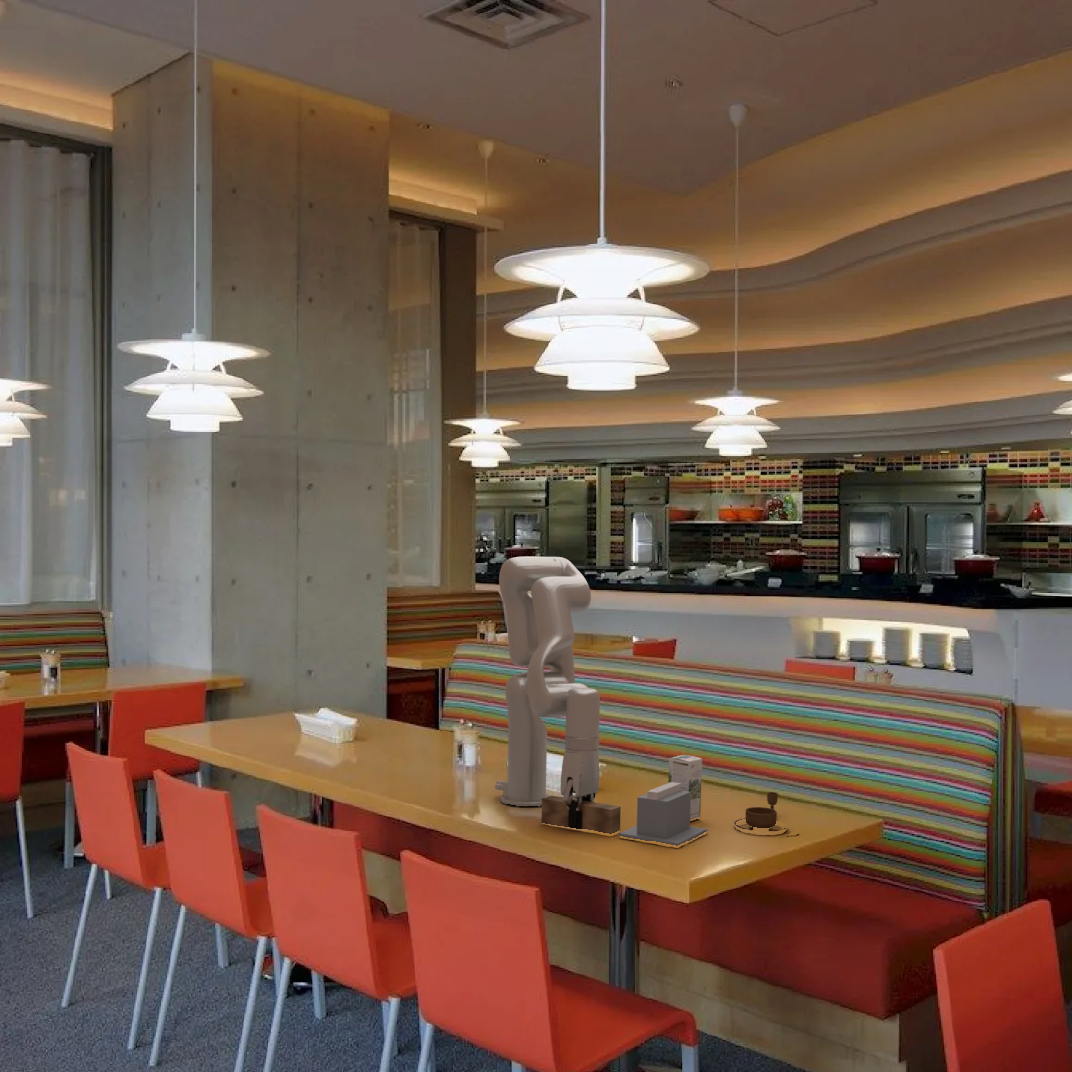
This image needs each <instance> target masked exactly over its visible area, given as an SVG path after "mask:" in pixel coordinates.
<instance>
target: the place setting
mask: <svg viewBox="0 0 1072 1072" xmlns="http://www.w3.org/2000/svg"><path fill="white" fill-rule="evenodd" d="M778 797H779V795H778V792H775V791H769V792H768V791H767V793H766V801H767V804H768V806H769V805H770V808H769V807H764V806H762V807H761V806H755V807H754V806H751V807H748V808H745V818H744V819H746V823H747V824H746V825H748V826H749V827H750V826H752V827H757V828H770V827H772V828H773V826H774V827H776V826H775V824H776V820H777V818H778V817H777V816H778V814H777V813H778V811H777V810H776V809H775V808H774V807H775V806H776V805H777V803H778V799H779V798H778ZM742 819H743V818H739V819H736V820H735V821H734V822H733V824H735V825H736V822H737V821H739V820H742ZM777 821H778V820H777ZM736 826H737V827H739V828H742V829H748V828H745V827H742V826H738V825H736ZM752 827H751V828H752ZM770 829H771V828H770ZM784 829H786V828H784Z"/></svg>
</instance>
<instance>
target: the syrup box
mask: <svg viewBox="0 0 1072 1072" xmlns="http://www.w3.org/2000/svg"><path fill="white" fill-rule="evenodd" d="M702 773H703V758H701V757H697V756H694V755H687V754H682V755H677V756H673V757H669V758H668V781H667V783H670V782H675V783H681V791H688V792H691V795H690V820H691V819H694V818H697V817H700V818H701V807H702V806H701V804H702V803H701V802H702V777H703V776H702Z"/></svg>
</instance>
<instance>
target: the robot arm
mask: <svg viewBox="0 0 1072 1072" xmlns="http://www.w3.org/2000/svg"><path fill="white" fill-rule="evenodd" d="M500 567H501V568H500V570H499V577H498V578H499V579H498V580H499V581H498V583H499V591H500V594H501V597H502V601H503V603H504V607H505V611H506V622H507V623H506V624H507V625H506V626H507V628H506V629H507V638H508V639H507V640H508V641H507V642H508V643H507V644H508V653H509V659H510V661H511V663H512V664H513V665H514V666H517V667H525V668H526V667H527V672H520V673H515V674H513V675H512V676H510V677H509V678H508V679H507V681H506V683H505V688H504V689H505V691H504V693H505V694H504V695H505V699H506V700H505V702H506V707H507V722H508V734H507V735H508V736H507V737H508V738H507V741H508V742H507V743H508V744H507V745H508V746H507V780H506V781H504V780H497V781H496V784H495V786H494V789H495V790H499V791H502V792H503V793H502V795H500V802H501V803H503V804H504V805H507V804H511V805H516V806H515V807H519V806H538V807H542V806H541V805H542V798H545V797H548V796H551V795H550V794H547V763H548V762H547V760H548V759H547V755H548V753H547V752H548V730H547V726H546V724H545V722H544V721H543V719H542V718H558V717H559V718H560V717H562V718H563V717H565V739H564V740H565V741H564V744H565V745H564V747H565V749H564V750H565V751H564V753H563V759H562V762H561V763H562V764H561V772H560V773H561V775H560V790H559V791H560V794H561V795H562V797H563V801H564V802H565V803H566V804H567V809H568V810H569V816H568V826H569V827H570V828H576V829H581V828H582V811H580V809H581V800H583V801H589V802H595V798H596V795H597V793H598V791H600V789H599V788H600V758H599V751H600V749H599V748H600V713H601V712H600V710H601V709H600V705H601V703H600V702H601V697H600V693H599V691H598V690H597V689H595V688H591V687H590V688H589V687H588V686H587V685H585V684H583V683H578V682H576V676H575V675H576V674H575V663H574V660H575V659H574V650H573V648H574V647H573V643H574V641H575V640H576V635H575V629H574V624H573V620H572V619H573V618H572V613H571V612H573V613H575V612H584V611H586V610H587V609H588V608H589V606H590V604H591V601H592V594H591V588H590V586H589V583H588V582H587V580H586V578H585V577H584V575H583V574H582V573H581V572H580V570H578V569H577V568H576V566H575V565H574V564H573V563H572V562H571V561H570V560H569V559H567V558H564V557H563V556H562V557H560V556H526V555H525V556H516V557H511V558H508V559H507V560H505V561H504V562H503V563H502V565H501V566H500ZM529 592H530V593H529ZM544 667H549V670H550V671H544ZM573 799H577V803H576V802H575V800H573ZM511 805H510V806H511Z"/></svg>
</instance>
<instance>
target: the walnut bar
mask: <svg viewBox="0 0 1072 1072" xmlns="http://www.w3.org/2000/svg"><path fill="white" fill-rule="evenodd" d="M573 800H575V802H576V803H577V799H573ZM621 809H622V807H621V806H620V805H619V806H618V805H613V804H608V803H601V802H595V801H594V802H589V801H583V800H581V809H580V811H582V828H581V829H588V830H594V831H598V832H603V833H609V834H612V833H615V832H617V831H619V830H620V831H621ZM568 816H569V810H568V809H567V804H566V803H565V802H564V801H563V796H557V795H556V796H555V795H550V796H548V797H545V798H542V806H541V820H540V821H541V823H545V824H551V825H557V826H564V827H569V826H568Z"/></svg>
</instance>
